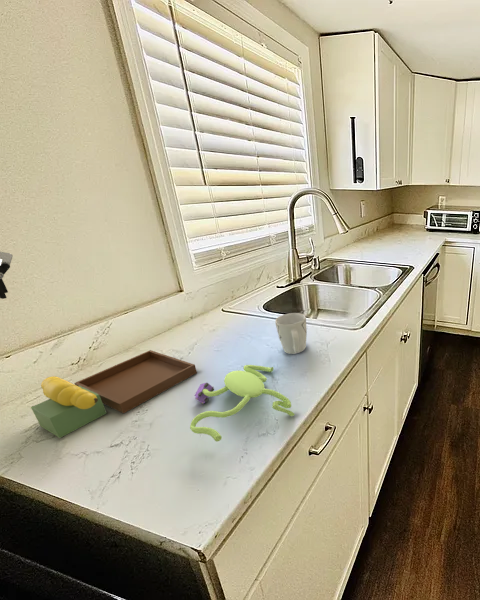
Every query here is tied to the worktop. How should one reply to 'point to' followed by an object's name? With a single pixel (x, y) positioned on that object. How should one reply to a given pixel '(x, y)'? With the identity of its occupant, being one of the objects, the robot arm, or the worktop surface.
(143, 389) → the tray
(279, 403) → the figurine
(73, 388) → the yellow stacked capsules
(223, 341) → the worktop surface
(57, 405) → the block
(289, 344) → the mug
